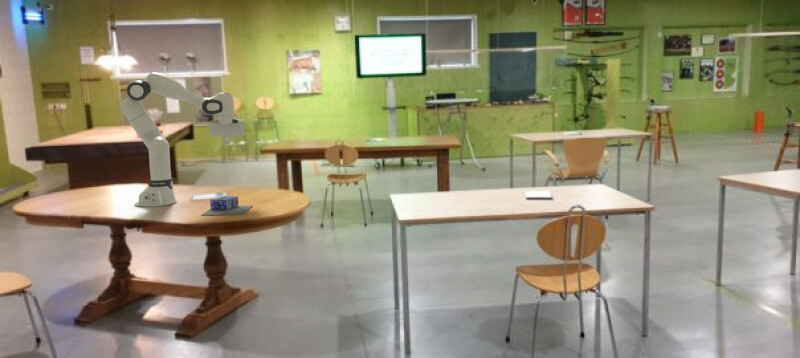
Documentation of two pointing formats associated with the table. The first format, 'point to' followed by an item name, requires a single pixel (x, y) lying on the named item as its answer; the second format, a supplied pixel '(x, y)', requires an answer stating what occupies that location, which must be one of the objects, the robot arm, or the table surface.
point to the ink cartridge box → (224, 202)
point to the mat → (228, 211)
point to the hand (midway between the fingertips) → (227, 144)
